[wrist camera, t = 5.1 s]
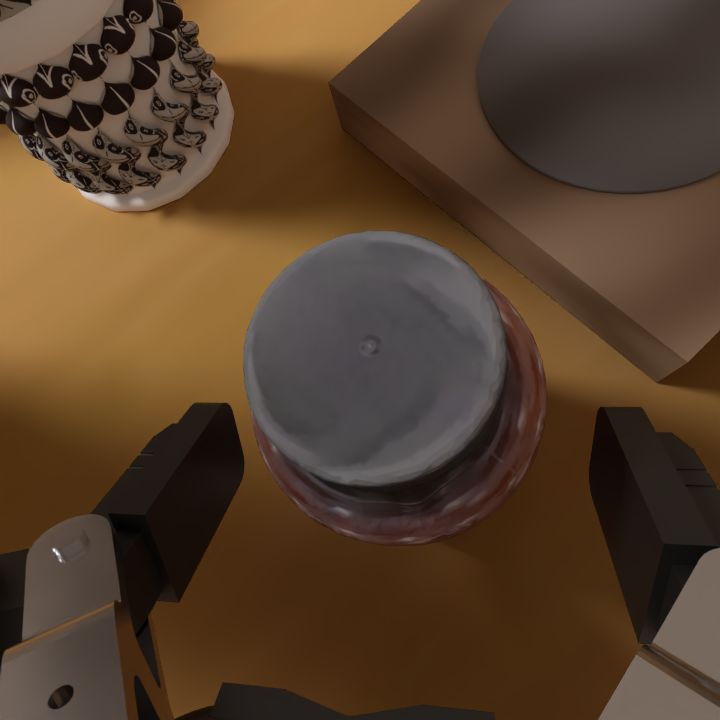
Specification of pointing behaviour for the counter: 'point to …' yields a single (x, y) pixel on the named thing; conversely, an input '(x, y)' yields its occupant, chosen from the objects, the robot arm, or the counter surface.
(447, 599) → the counter surface
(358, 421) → the supplement bottle
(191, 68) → the decorative candle
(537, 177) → the base board
